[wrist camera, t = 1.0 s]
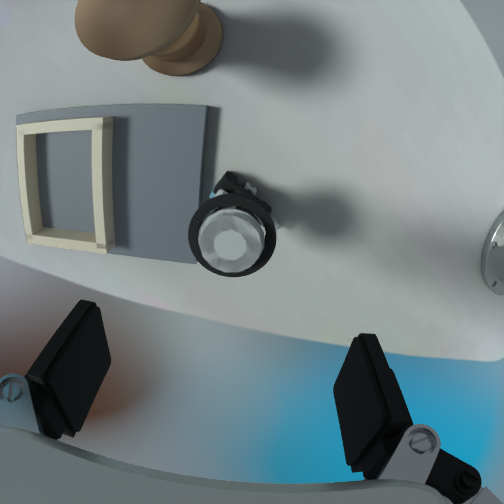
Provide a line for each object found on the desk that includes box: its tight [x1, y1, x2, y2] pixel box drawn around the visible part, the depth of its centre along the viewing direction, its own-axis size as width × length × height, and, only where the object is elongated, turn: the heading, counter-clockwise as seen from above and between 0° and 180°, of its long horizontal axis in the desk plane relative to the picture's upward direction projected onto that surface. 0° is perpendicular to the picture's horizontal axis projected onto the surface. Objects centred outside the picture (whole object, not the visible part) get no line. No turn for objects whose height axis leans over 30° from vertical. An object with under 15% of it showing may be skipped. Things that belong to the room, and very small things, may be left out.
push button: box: [188, 171, 280, 277], centre depth 23 cm, size 7×5×10 cm
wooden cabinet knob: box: [75, 0, 223, 76], centre depth 16 cm, size 7×7×11 cm
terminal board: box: [16, 104, 209, 264], centre depth 25 cm, size 20×14×3 cm
